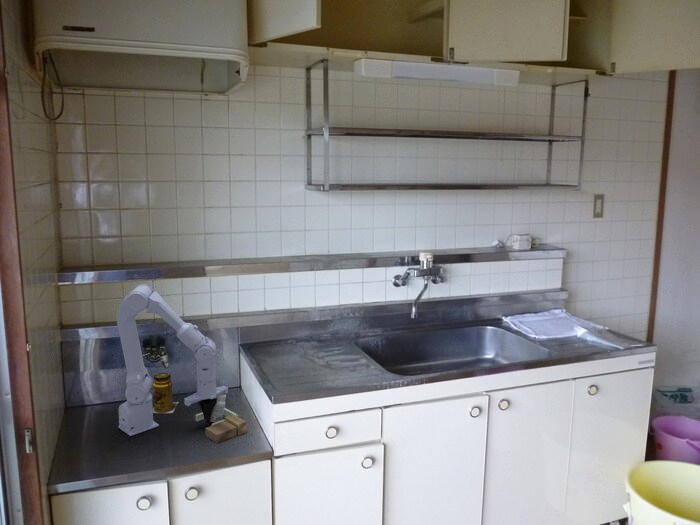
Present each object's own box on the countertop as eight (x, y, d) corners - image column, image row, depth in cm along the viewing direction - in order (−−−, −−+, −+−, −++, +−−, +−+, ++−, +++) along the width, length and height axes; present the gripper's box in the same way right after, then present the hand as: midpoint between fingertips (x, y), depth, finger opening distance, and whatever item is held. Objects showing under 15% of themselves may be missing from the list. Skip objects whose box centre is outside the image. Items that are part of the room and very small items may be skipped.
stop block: (238, 435, 179) (238, 424, 178) (224, 427, 183) (224, 417, 183) (246, 432, 181) (246, 421, 180) (232, 424, 186) (232, 414, 185)
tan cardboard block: (217, 444, 174) (216, 434, 173) (205, 437, 178) (205, 428, 177) (236, 436, 179) (236, 427, 178) (224, 429, 183) (224, 420, 182)
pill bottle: (207, 416, 189) (213, 391, 189) (222, 419, 189) (228, 394, 190) (205, 420, 184) (211, 394, 184) (220, 424, 185) (226, 397, 185)
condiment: (149, 413, 192) (148, 378, 190) (157, 402, 200) (155, 369, 198) (172, 413, 192) (171, 378, 190) (179, 402, 201) (177, 369, 198)
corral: (213, 430, 181) (212, 424, 181) (195, 420, 188) (195, 414, 187) (238, 421, 188) (238, 415, 188) (221, 411, 195) (221, 405, 194)
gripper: (192, 389, 175) (193, 432, 177) (233, 376, 185) (234, 417, 187) (180, 382, 179) (181, 424, 182) (220, 370, 190) (221, 410, 192)
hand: (207, 420), depth 185 cm, fingers closed, pressing on pill bottle
